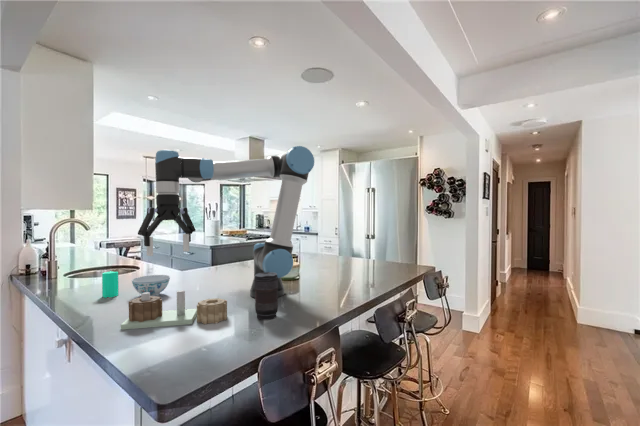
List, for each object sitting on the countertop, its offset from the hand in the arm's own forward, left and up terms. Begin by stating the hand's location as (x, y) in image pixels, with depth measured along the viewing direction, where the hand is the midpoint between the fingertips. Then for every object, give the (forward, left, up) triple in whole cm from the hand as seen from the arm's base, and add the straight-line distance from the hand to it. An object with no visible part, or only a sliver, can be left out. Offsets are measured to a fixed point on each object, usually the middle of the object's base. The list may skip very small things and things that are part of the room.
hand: (169, 253), depth 113 cm
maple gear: (-15, +8, -22) cm, 28 cm away
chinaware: (+14, -31, -22) cm, 41 cm away
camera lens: (-34, +11, -22) cm, 42 cm away
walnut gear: (+6, +6, -21) cm, 22 cm away
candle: (+32, -35, -22) cm, 53 cm away
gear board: (+1, +6, -22) cm, 23 cm away
